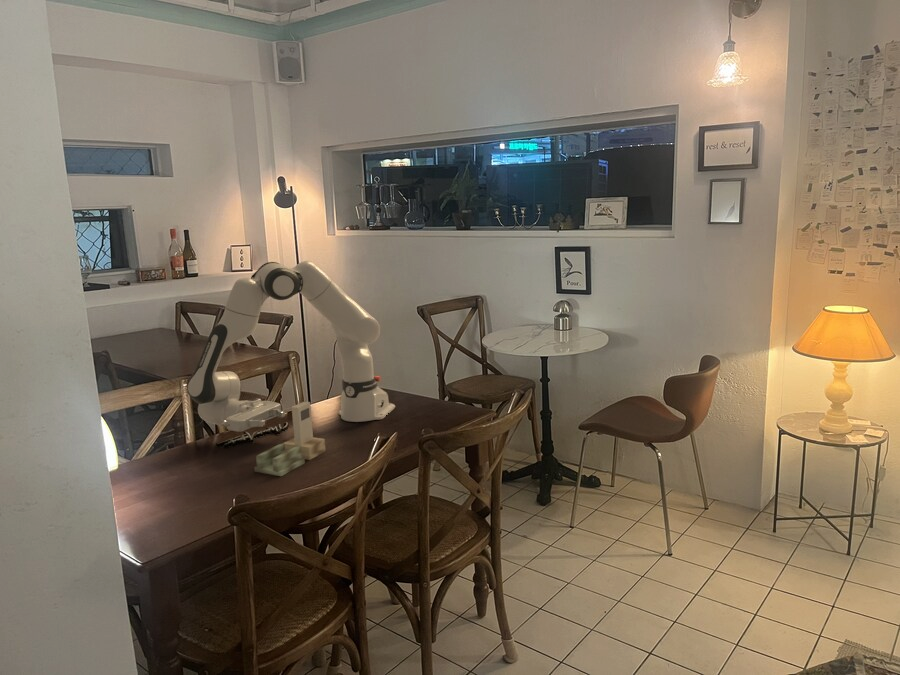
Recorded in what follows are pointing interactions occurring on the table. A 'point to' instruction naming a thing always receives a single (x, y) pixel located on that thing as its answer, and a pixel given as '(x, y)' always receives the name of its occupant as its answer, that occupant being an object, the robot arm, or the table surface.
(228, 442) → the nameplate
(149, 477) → the table surface
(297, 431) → the white block with panel
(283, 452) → the rack
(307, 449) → the stand
